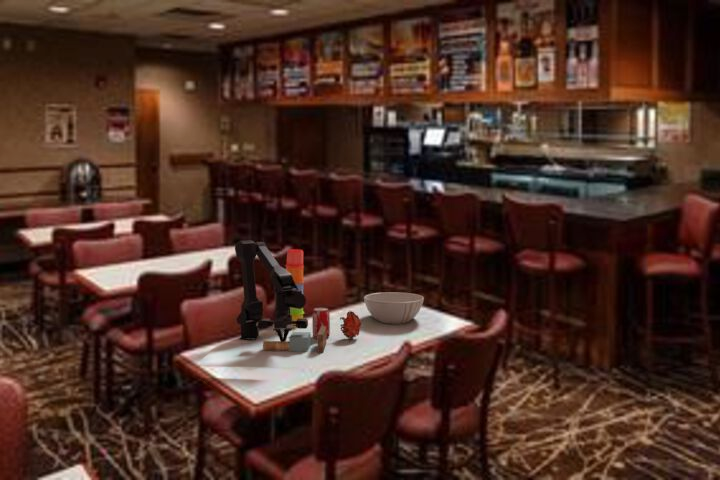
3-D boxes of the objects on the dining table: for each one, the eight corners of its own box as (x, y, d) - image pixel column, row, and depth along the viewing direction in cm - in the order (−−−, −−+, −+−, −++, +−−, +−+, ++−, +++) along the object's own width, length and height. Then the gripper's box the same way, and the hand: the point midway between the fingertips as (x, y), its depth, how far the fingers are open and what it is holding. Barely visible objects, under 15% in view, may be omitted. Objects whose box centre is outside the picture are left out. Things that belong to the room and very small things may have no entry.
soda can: (327, 340, 274) (327, 311, 273) (310, 339, 275) (310, 310, 274) (331, 336, 281) (331, 307, 280) (315, 335, 282) (314, 307, 281)
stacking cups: (287, 325, 301) (286, 248, 298) (308, 327, 297) (307, 249, 294) (276, 330, 292) (275, 250, 289) (297, 332, 288) (297, 251, 285)
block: (289, 351, 257) (289, 337, 256) (292, 345, 266) (292, 332, 266) (307, 351, 257) (307, 337, 256) (310, 345, 266) (310, 332, 265)
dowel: (264, 347, 261) (263, 352, 258) (264, 339, 260) (262, 344, 256) (290, 347, 261) (289, 352, 257) (290, 339, 259) (289, 344, 256)
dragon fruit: (350, 335, 282) (350, 307, 281) (366, 338, 276) (366, 309, 275) (336, 339, 275) (336, 310, 274) (352, 342, 270) (352, 312, 269)
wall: (317, 352, 254) (317, 334, 254) (321, 343, 268) (321, 326, 267) (323, 352, 254) (322, 334, 253) (326, 343, 268) (326, 326, 267)
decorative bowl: (426, 330, 291) (426, 302, 290) (363, 330, 292) (363, 302, 291) (421, 317, 318) (421, 292, 317) (364, 317, 318) (364, 292, 317)
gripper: (254, 309, 253) (255, 350, 254) (304, 309, 252) (304, 350, 253) (260, 303, 264) (260, 343, 265) (307, 304, 263) (308, 343, 264)
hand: (283, 345), depth 262 cm, fingers closed
